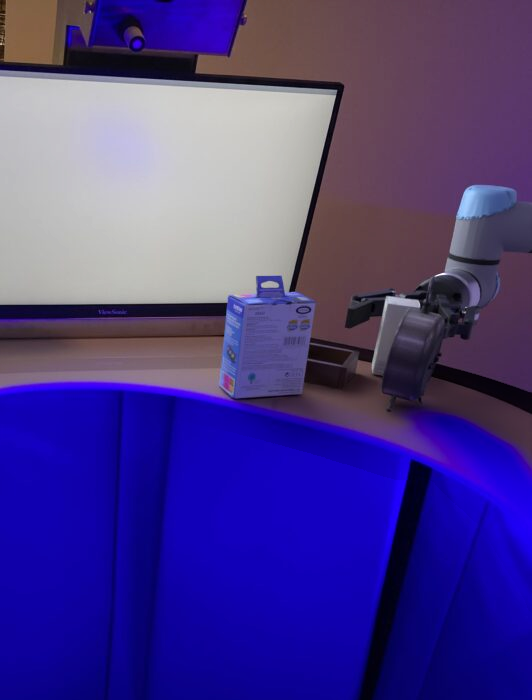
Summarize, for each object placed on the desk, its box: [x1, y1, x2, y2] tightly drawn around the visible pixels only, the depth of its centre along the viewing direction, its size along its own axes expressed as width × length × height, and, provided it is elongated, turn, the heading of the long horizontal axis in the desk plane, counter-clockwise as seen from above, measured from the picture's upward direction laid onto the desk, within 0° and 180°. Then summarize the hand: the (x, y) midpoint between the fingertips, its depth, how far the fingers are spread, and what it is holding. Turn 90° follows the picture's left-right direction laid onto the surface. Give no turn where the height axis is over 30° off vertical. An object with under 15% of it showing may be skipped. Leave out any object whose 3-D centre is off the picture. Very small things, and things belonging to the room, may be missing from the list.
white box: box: [371, 296, 420, 377], centre depth 116 cm, size 5×4×10 cm
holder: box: [304, 342, 360, 390], centre depth 115 cm, size 8×8×3 cm
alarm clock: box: [380, 276, 445, 413], centre depth 103 cm, size 11×5×16 cm, turn 149°
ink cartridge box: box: [218, 275, 317, 399], centre depth 106 cm, size 10×6×14 cm, turn 106°
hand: (386, 327), depth 112 cm, fingers open, 10 cm apart
